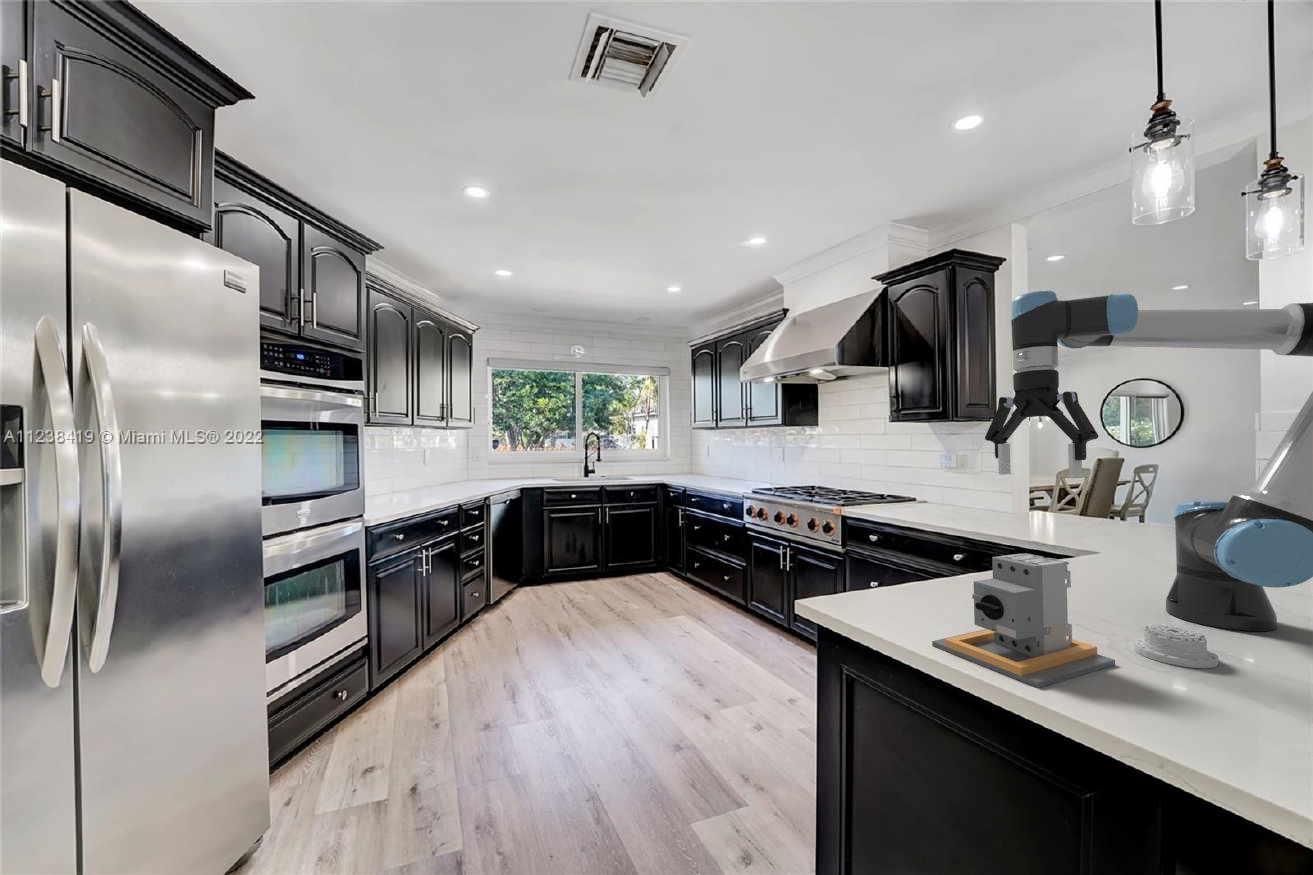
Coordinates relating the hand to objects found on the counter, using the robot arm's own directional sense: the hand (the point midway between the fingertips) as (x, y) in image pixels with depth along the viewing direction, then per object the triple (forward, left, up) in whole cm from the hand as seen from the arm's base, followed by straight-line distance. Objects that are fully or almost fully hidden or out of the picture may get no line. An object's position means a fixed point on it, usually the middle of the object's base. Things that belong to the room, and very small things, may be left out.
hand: (1038, 476), depth 108 cm
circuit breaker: (+22, +10, -28) cm, 37 cm away
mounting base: (+22, +10, -29) cm, 37 cm away
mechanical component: (0, +21, -29) cm, 36 cm away
